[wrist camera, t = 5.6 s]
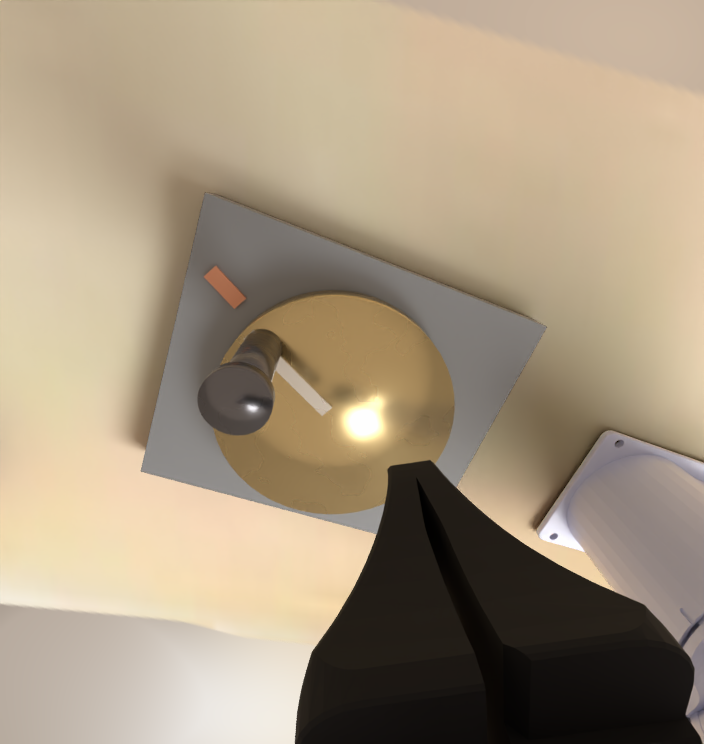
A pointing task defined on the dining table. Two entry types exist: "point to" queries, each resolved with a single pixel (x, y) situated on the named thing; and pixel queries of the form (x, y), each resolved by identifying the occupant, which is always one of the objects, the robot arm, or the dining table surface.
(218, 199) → the stand
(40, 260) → the dining table surface
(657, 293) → the dining table surface
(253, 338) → the brass disc with crank
